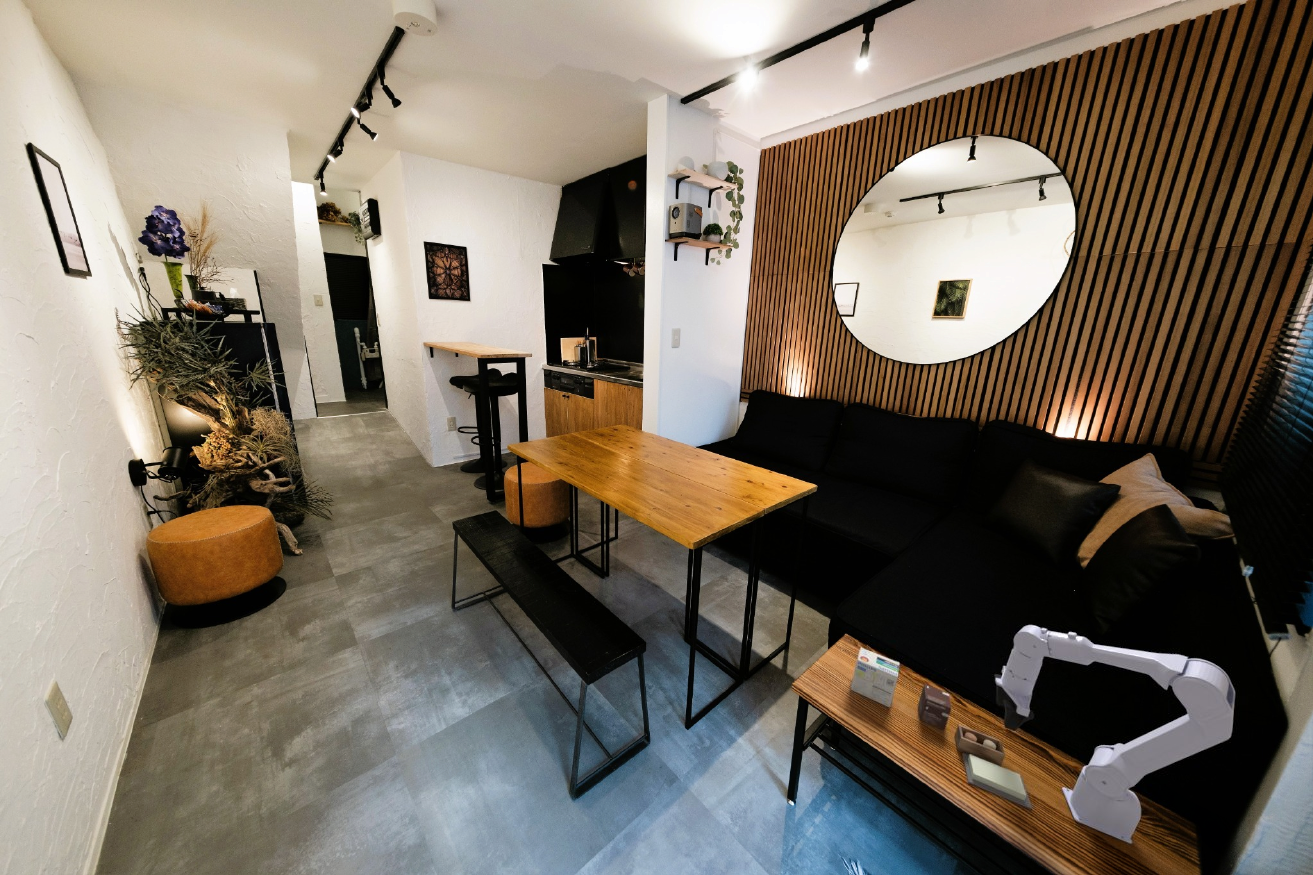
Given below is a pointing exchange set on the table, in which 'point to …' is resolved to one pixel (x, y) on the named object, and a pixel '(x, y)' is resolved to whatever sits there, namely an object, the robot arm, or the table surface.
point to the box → (934, 706)
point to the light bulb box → (875, 676)
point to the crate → (979, 745)
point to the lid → (996, 777)
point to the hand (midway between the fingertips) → (1005, 716)
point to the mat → (1019, 801)
